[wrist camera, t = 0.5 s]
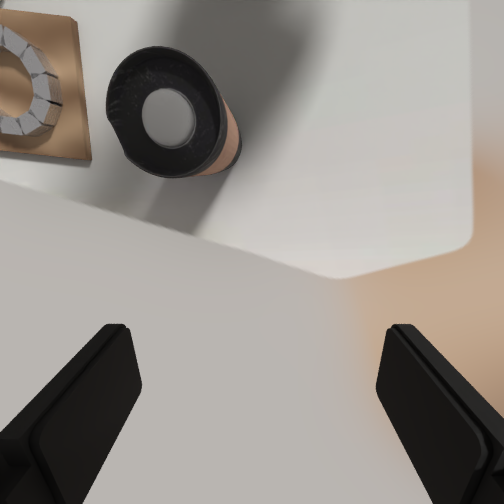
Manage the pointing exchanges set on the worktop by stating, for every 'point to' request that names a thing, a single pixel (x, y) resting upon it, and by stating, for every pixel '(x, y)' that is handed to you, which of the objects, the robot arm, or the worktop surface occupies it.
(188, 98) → the travel mug
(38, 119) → the grey segmented ring
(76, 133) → the board
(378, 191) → the worktop surface
